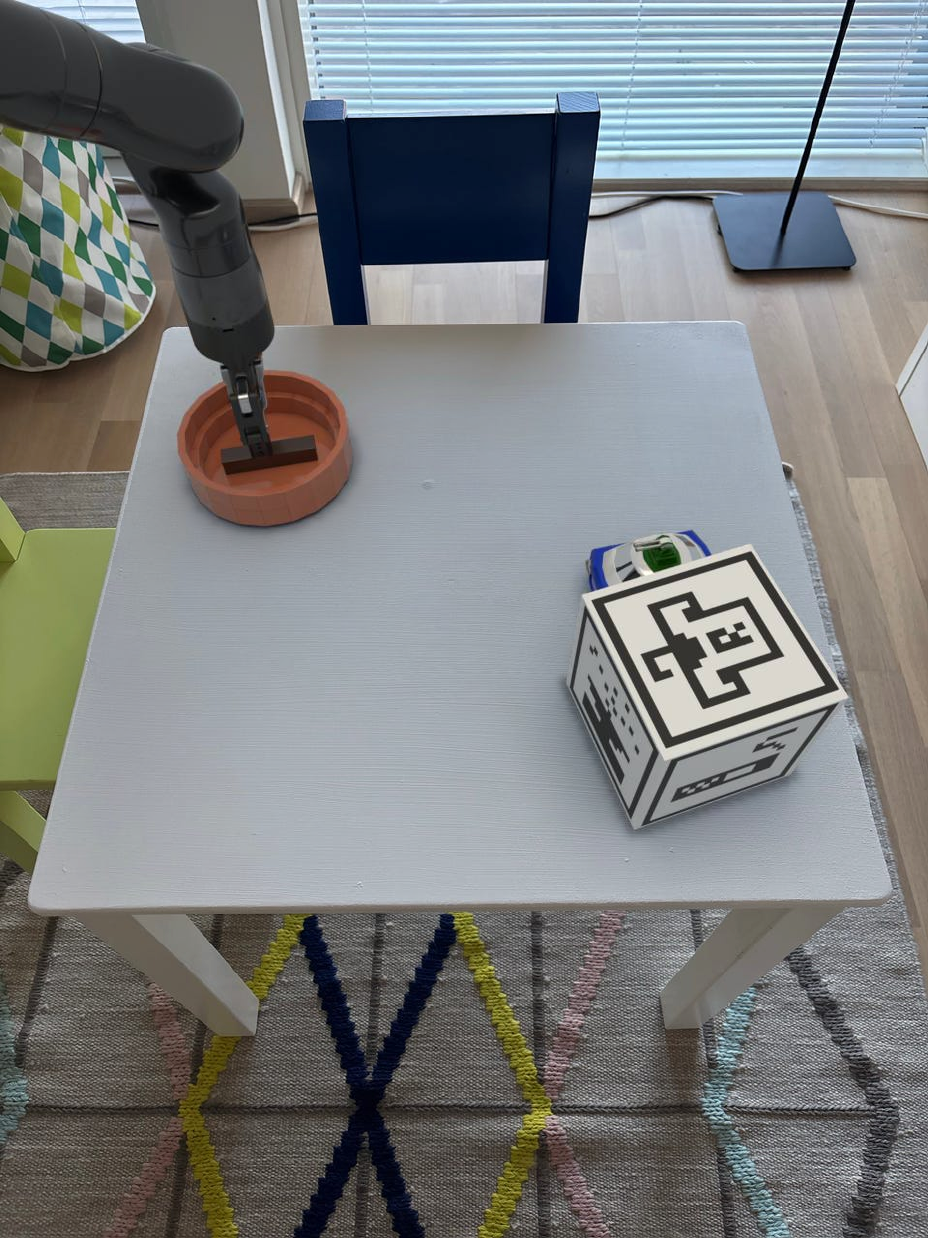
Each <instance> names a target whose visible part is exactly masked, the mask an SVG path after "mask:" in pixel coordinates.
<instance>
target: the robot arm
mask: <svg viewBox="0 0 928 1238" xmlns="http://www.w3.org/2000/svg"><path fill="white" fill-rule="evenodd" d="M244 117H245V116H244V112H243V108H242V105H241V102H240V100H239V98H238V95H237V94H236V92H235V91H234V89H233V88H232V86H231V85H230V84H229V82H227V80H226V79H225V78H224V77H222V76H221V75H220V73H219V74H218V73H217V72H216V71H215V70H213V69H211V68H209V67H207V66H205V65H202V64H200V63H199V62H198V63H197V62H195V61H192V60H191V59H188V58H186V57H183V56H180V55H178V54H176V53H173V52H171V51H169V50H167V49H164V48H162V47H159V46H157V45H154V44H152V43H147V42H140V41H132V42H127V43H123V42H121V41H119V40H117V39H115V38H112V37H111V36H109V35H107V34H105V33H104V32H101V31H99V30H97V29H95V28H93V27H91V26H89V25H87V24H84V23H82V22H80V21H76V20H74V19H73V18H69V17H67V16H63V15H60V14H57V13H55V12H51V11H49V10H45V9H43V8H40V7H37V6H34V5H31V4H29V3H25V2H22V1H19V0H0V127H4V128H7V129H11V130H15V131H21V132H25V133H30V134H35V135H40V136H44V137H49V138H53V139H57V140H58V139H59V140H63V141H68V142H75V143H84V144H90V145H95V146H99V147H104V148H107V149H111V150H114V151H117V152H118V154H119V156H120V158H121V160H122V161H123V163H124V165H125V167H126V168H127V170H128V172H129V174H130V176H131V177H132V179H133V181H134V183H135V185H136V186H137V188H138V190H139V192H140V193H141V195H142V197H144V199H145V200H146V202H147V203H148V205H149V207H150V208H151V210H152V212H153V213H154V215H155V218H156V221H157V223H158V228H159V231H160V234H161V238H162V241H163V243H164V247H165V249H166V252H167V256H168V259H169V263H170V266H171V273H172V277H173V283H174V287H175V290H176V293H177V297H178V299H179V302H180V305H181V308H182V311H183V315H184V319H185V321H186V323H187V326H188V330H189V333H190V336H191V338H192V339H191V340H192V342H193V345H194V347H195V349H196V350H197V351H198V352H199V353H200V355H202V356H203V357H205V358H206V359H208V360H211V361H212V362H216V363H219V370H220V375H221V380H222V381H223V382H224V383H225V384H226V385H227V390H228V395H229V398H228V399H229V403H230V404H231V409H232V411H233V413H234V416H235V420H236V423H237V427H238V430H239V433H240V440H241V442H242V443H243V446H245V445H248V447H249V450H250V453H251V457H252V458H253V459H263V458H270V457H272V456H273V455H274V453H273V447H272V443H271V440H270V436H269V432H268V429H269V425H268V424H267V421H266V416H265V411H264V409H265V408H266V407H267V405H268V400H267V395H266V388H265V385H264V380H263V377H264V375H265V371H264V370H265V367H264V359H263V353H264V352H265V351H266V350H267V349H268V348H269V347H270V345H271V344H272V342H273V340H274V338H275V332H276V328H275V327H276V326H275V323H274V318H273V315H272V310H271V306H270V301H269V297H268V292H267V288H266V284H265V280H264V273H263V271H262V267H261V263H260V261H259V257H258V255H257V253H256V250H255V247H254V244H253V240H252V235H251V232H250V228H249V222H248V219H247V216H246V212H245V207H244V204H243V199H242V197H241V194H240V192H239V190H238V189H237V187H236V186H235V184H234V182H233V181H231V180H230V178H229V177H228V176H226V175H225V174H224V173H222V172H221V171H220V170H219V169H221V168H222V167H225V166H226V165H228V163H230V162H231V160H232V159H233V158H234V157H235V156H236V154H237V152H238V151H239V149H240V147H241V145H242V142H243V139H244V132H245V118H244ZM234 389H235V391H236V392H237V393H235V391H234ZM259 398H260V399H259Z"/></svg>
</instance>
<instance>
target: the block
mask: <svg viewBox="0 0 928 1238" xmlns="http://www.w3.org/2000/svg"><path fill="white" fill-rule="evenodd" d="M568 664H569V665H568V671H567V675H566V676H567V677H566V682H565V683H566V686H567V688H568V690H569V693H570V695H571V697H572V699H573V701H574V703H575V705H576V708H577V710H578V712H579V714H580V716H581V718H582V721H583V723H584V725H585V727H586V729H587V732H588V733H589V736H590V738H591V740H592V742H593V744H594V746H595V749H596V751H597V753H598V755H599V757H600V760H601V762H602V765H603V766H604V768H605V771H606V772H607V773H606V774H607V775H608V777H609V779H610V781H611V783H612V786H613V788H614V790H615V791H616V794H617V796H618V799H619V801H620V803H621V805H622V807H623V809H624V812H625V814H626V816H627V818H628V820H629V822H630V825H631V827H632V829H633V831H635V830H639V829H641V828H645V827H647V826H650V825H652V824H656V823H658V822H662V821H664V820H667V819H669V818H672V817H675V816H678V815H681V814H683V813H686V812H690V811H692V810H695V809H698V808H702V807H704V806H707V805H709V804H711V803H715V802H717V801H721V800H723V799H726V798H729V797H732V796H734V795H735V796H736V795H737V794H740V793H742V792H743V793H744V792H745V791H748V790H752V789H754V788H757V787H760V786H763V785H766V784H769V783H771V782H775V781H777V780H779V779H783V778H785V777H788V776H791V774H793V772H794V771H795V769H796V768H797V766H798V765H799V764H800V763H801V761H802V760H803V759H804V757H805V756H806V755H807V753H808V752H809V751H810V749H812V747H813V746H814V744H815V743H816V742H817V740H818V739H819V738H820V736H821V735H822V734H823V732H825V730H826V729H827V727H828V726H829V725H830V723H831V722H832V720H833V719H835V717H836V715H837V714H838V713H839V712H840V711H841V709H842V707H843V706H844V705H845V704H846V703H847V701H848V700H849V699H850V697H849V695H848V694H847V692H846V691H845V688H844V687H843V686H842V684H841V683H840V681H839V680H838V679H837V678H838V677H836V675H835V673H834V672H833V670H832V669H831V667H830V665H829V664H828V662H827V661H826V659H825V658H824V656H823V655H822V653H821V652H820V649H818V647H817V645H816V644H815V642H814V640H813V639H812V637H811V636H810V634H809V633H808V631H807V630H806V628H805V627H804V625H803V623H802V622H801V620H800V618H799V617H798V616H797V614H796V612H795V611H794V610H793V608H792V606H791V604H790V603H789V602H788V600H787V598H786V597H785V595H784V594H783V592H782V591H781V589H780V587H779V586H778V584H777V583H776V581H775V580H774V578H773V577H772V575H771V574H770V572H769V570H768V568H767V567H766V565H765V564H764V562H763V561H762V559H761V558H760V557H759V555H758V553H757V552H756V550H755V549H754V547H753V545H752V544H751V543H747V544H744V545H741V546H738V547H734V548H731V549H728V550H724V551H721V552H718V553H715V554H712V555H711V556H708V557H705V558H701V559H698V560H695V561H691V562H688V563H685V564H682V565H678V566H675V567H672V568H669V569H665V570H662V571H659V572H655V573H652V574H649V575H646V576H642V577H639V578H636V579H633V580H629V581H626V582H623V583H620V584H616V585H613V586H610V587H606V588H603V589H600V590H597V591H593V592H591V591H589V592H587V593H584V594H581V597H580V603H579V608H578V615H577V618H576V626H575V631H574V637H573V643H572V648H571V654H570V660H569V663H568Z"/></svg>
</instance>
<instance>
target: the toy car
mask: <svg viewBox="0 0 928 1238" xmlns="http://www.w3.org/2000/svg"><path fill="white" fill-rule="evenodd" d="M711 555H713V554H712V553H711V550H710V549H709V547H708V546H707V544H706V543H705V542H704V541H703V540H702V539H701V538H700V537H699V536H698V534H697V533H696V532H695V531H694V529H689V530H684V531H679V532H662V533H654V534H649V535H645V536H642V537H639V538H635V539H632V540H630V541H627V542H622V543H617V544H611V545H606V546H601V547H596V548H593V549H591V550H590V555H589V559H585V570H586V574H588V585H589V589H590V592H593V591H597V590H600V589H603V588H606V587H610V586H613V585H616V584H620V583H623V582H626V581H629V580H633V579H636V578H639V577H642V576H646V575H649V574H652V573H655V572H659V571H662V570H665V569H669V568H672V567H675V566H678V565H682V564H685V563H688V562H691V561H695V560H698V559H701V558H705V557H708V556H711Z"/></svg>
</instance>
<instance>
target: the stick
mask: <svg viewBox="0 0 928 1238" xmlns="http://www.w3.org/2000/svg"><path fill="white" fill-rule="evenodd" d="M271 443H272V447H273V453H274V455H273V456H272V457H270V458H263V459H253V458H252V457H251V453H250V450H249V447H248V445H245V446H239V447H232V448H226V449H221V459H222V465H223V468H224V470H225V473H226V475H230V474H236V473H242V472H248V471H254V470H261V469H267V468H273V467H279V466H285V465H292V464H298V463H304V462H310V461H317V460H318V455H317V449H316V444H315V439H314V435H308V436H302V437H295V438H289V439H283V440H276V441H271Z"/></svg>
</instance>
